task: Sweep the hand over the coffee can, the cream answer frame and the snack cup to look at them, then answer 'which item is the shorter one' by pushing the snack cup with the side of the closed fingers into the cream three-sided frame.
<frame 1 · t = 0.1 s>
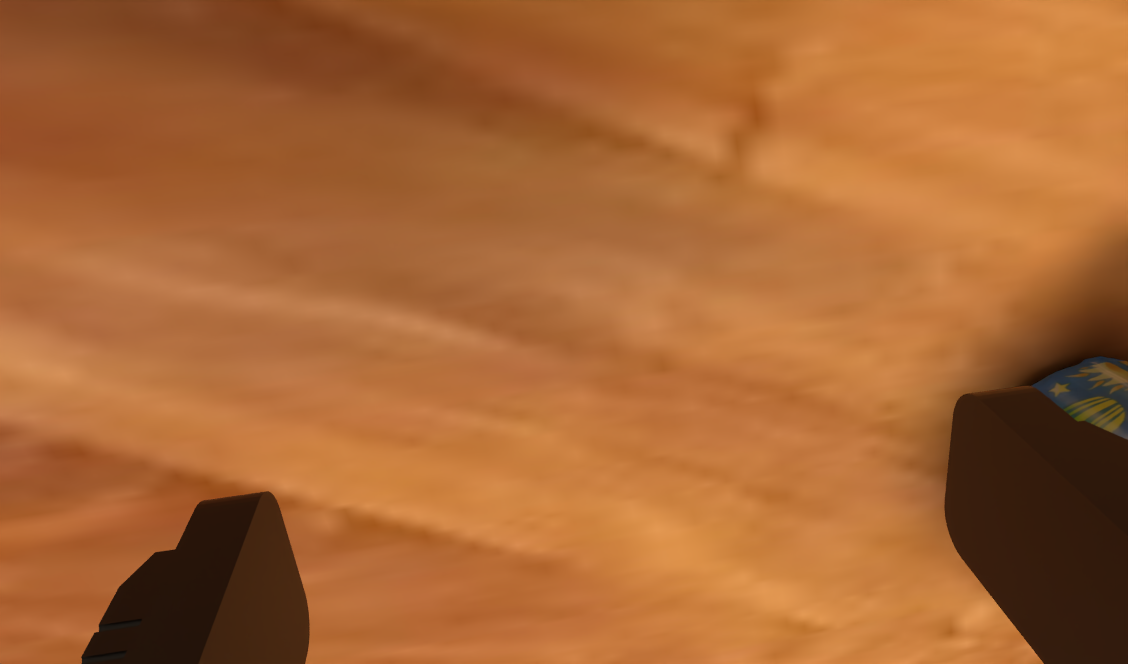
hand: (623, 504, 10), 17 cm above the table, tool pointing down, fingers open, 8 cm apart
snack cup: (1066, 434, 33), on the table
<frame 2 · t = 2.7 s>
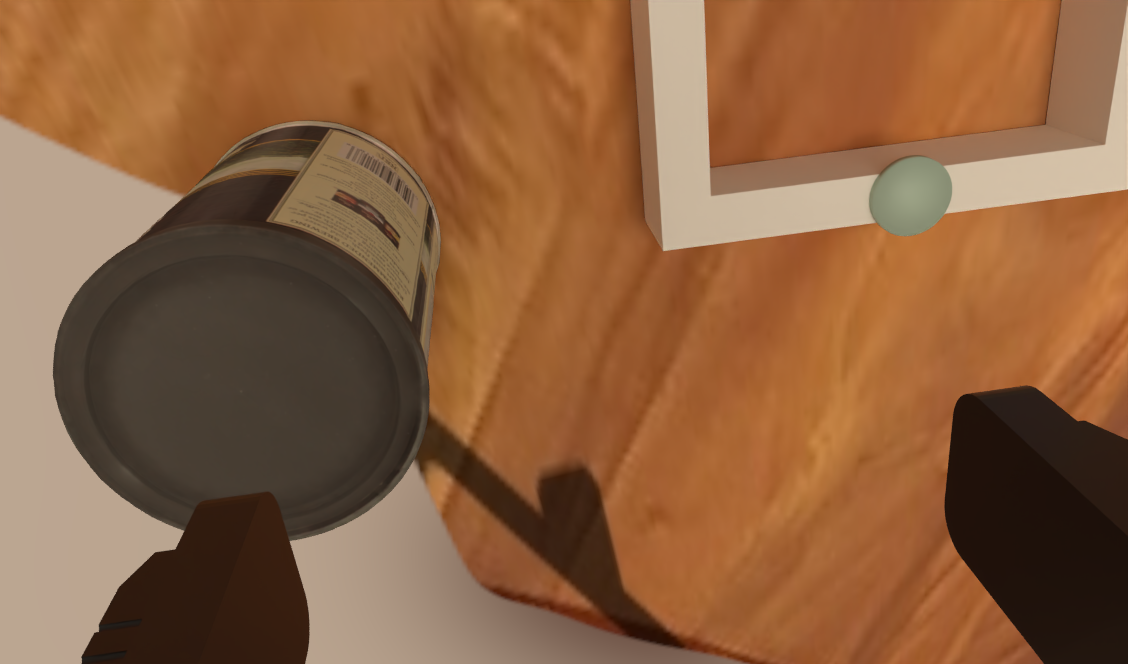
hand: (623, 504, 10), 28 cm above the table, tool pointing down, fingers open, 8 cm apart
coffee can: (323, 239, 38), on the table
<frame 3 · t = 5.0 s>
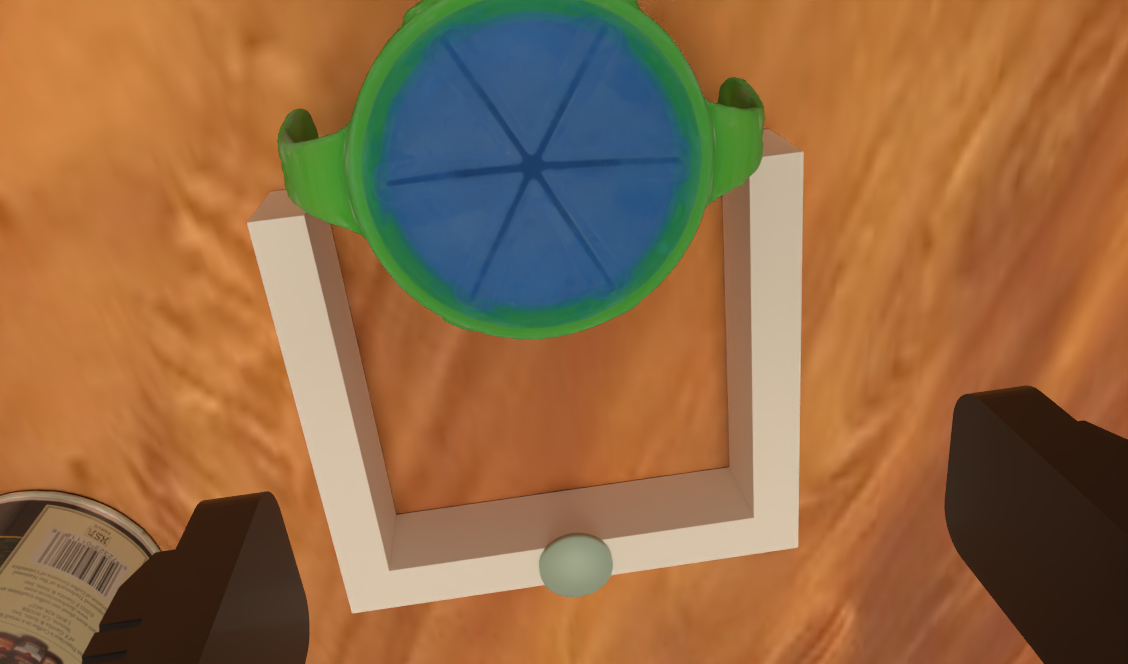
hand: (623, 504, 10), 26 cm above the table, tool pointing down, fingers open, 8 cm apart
answer frame: (548, 360, 39), on the table
coffee can: (61, 577, 41), on the table
snack cup: (516, 108, 34), on the table
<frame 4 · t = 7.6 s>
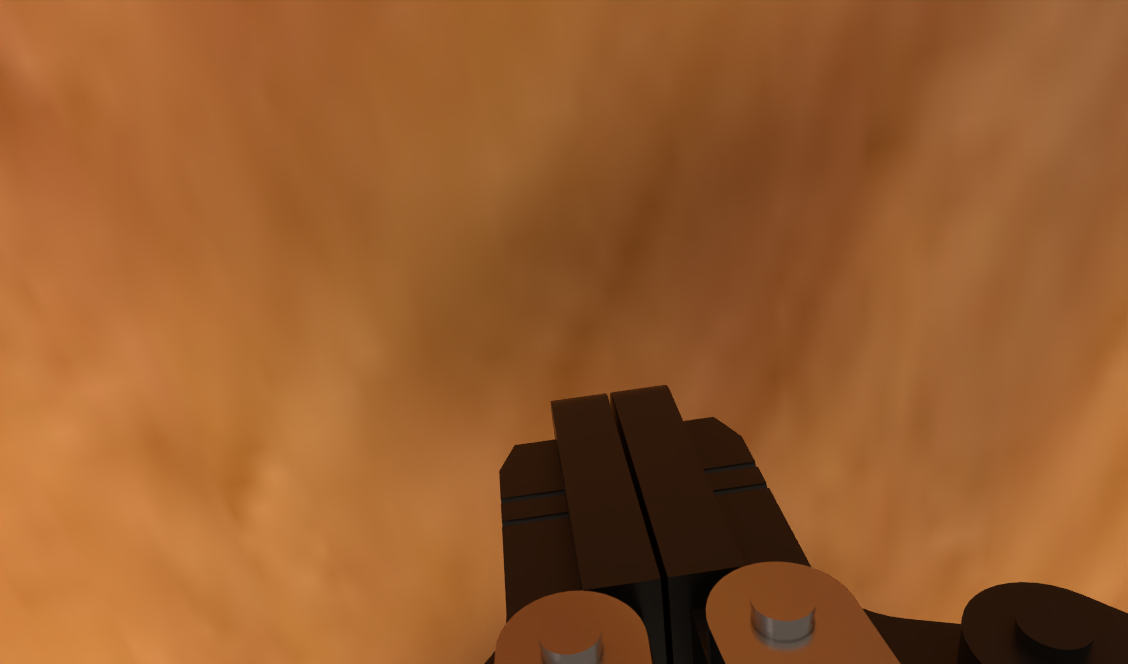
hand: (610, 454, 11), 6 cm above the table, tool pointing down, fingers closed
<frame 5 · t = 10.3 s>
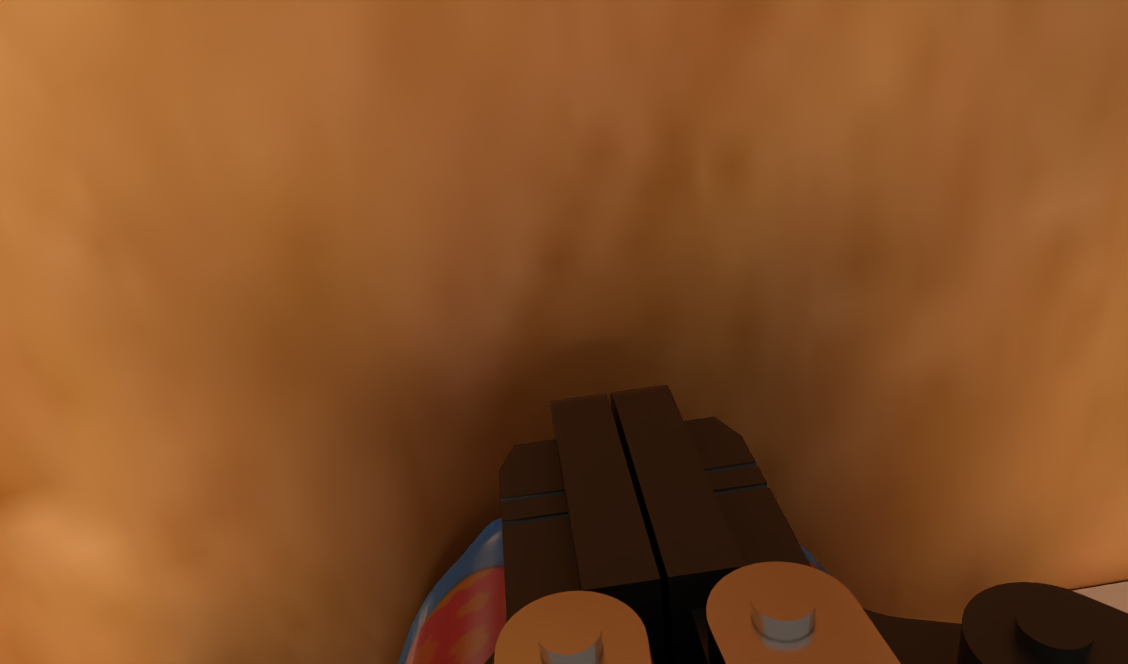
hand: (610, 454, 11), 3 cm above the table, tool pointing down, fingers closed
snack cup: (617, 624, 16), on the table, touching gripper
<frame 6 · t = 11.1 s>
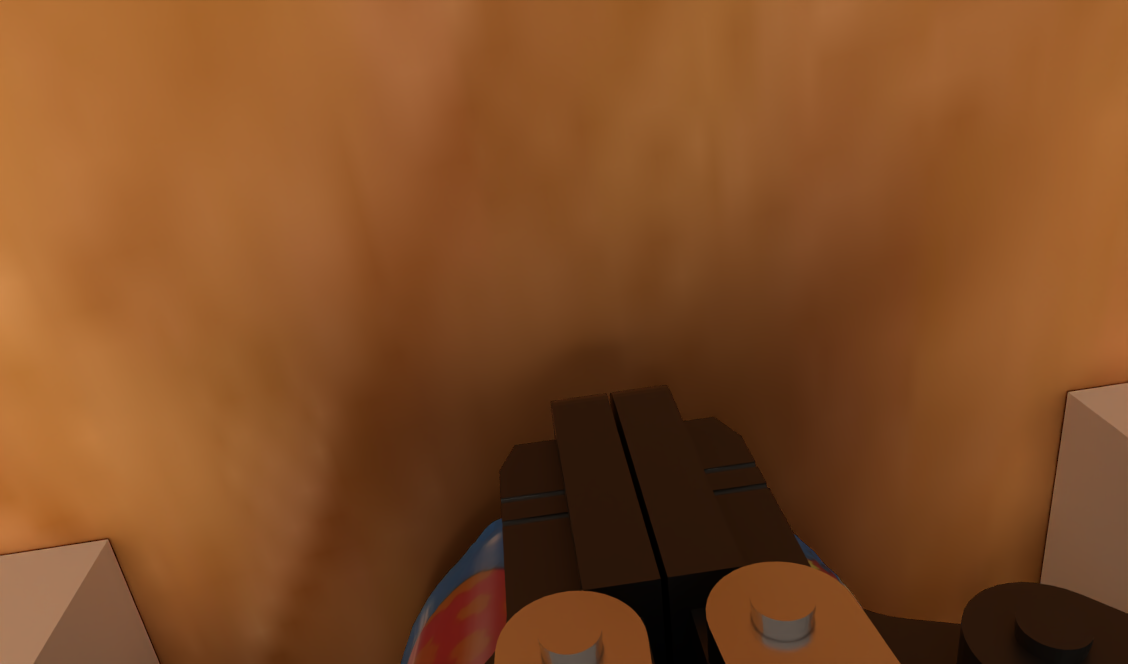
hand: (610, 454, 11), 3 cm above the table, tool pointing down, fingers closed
snack cup: (620, 622, 16), on the table, touching gripper
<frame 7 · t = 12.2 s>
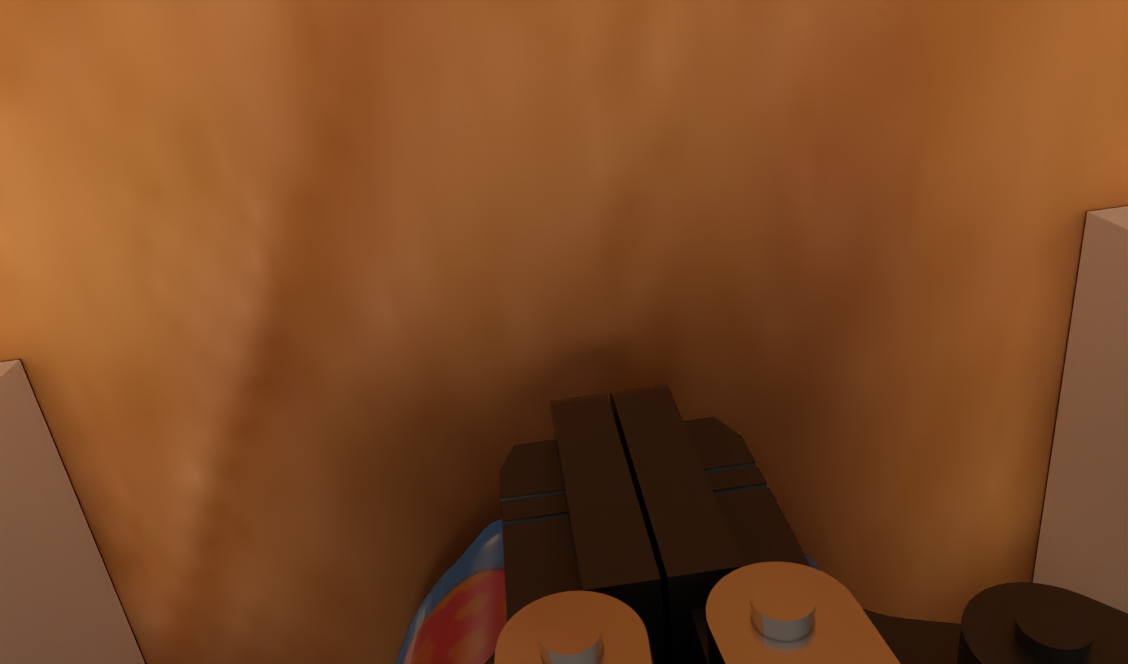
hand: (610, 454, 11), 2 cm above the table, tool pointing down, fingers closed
snack cup: (615, 627, 16), on the table, touching gripper
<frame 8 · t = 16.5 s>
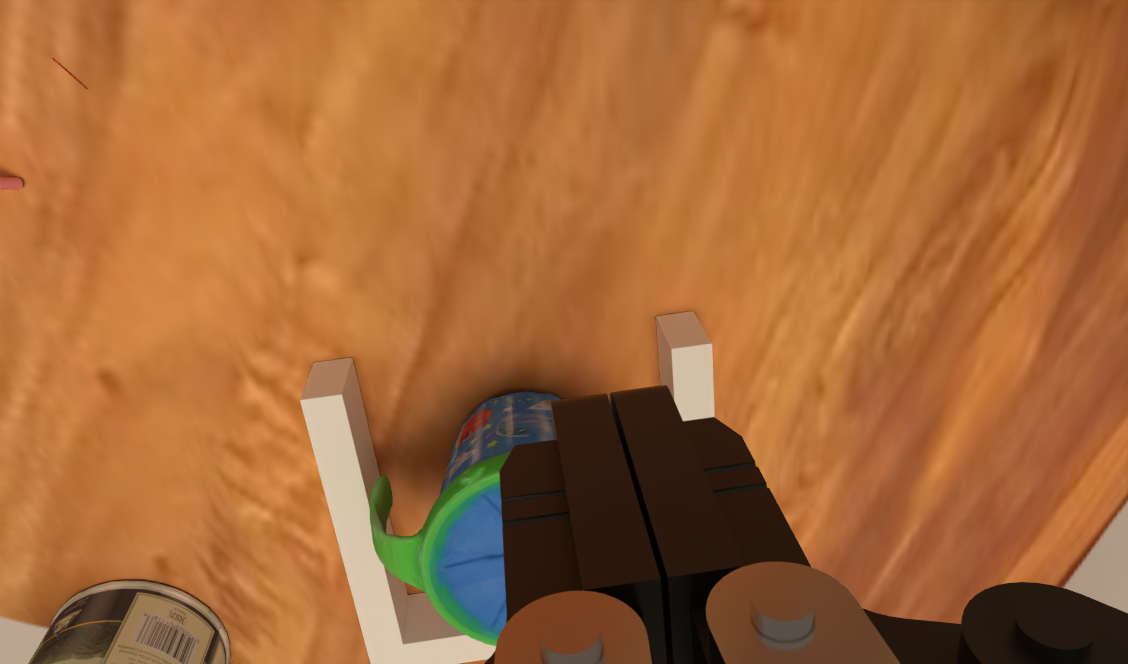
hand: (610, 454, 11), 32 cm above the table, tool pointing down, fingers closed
answer frame: (526, 478, 50), on the table
coffee can: (143, 644, 52), on the table
snack cup: (523, 442, 49), on the table
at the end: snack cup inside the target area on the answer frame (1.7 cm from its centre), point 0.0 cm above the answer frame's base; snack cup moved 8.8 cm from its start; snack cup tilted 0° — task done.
